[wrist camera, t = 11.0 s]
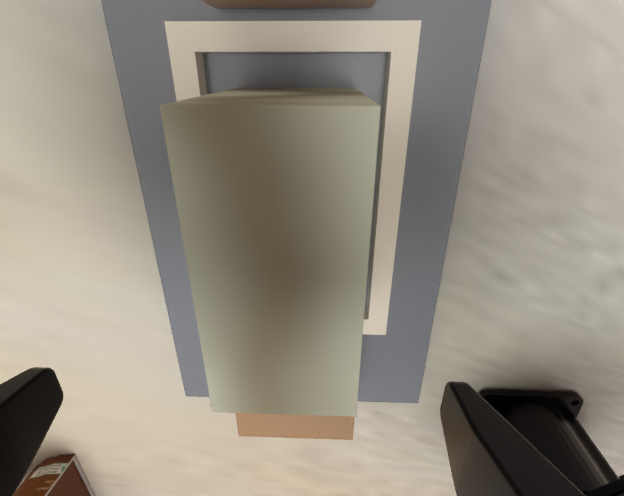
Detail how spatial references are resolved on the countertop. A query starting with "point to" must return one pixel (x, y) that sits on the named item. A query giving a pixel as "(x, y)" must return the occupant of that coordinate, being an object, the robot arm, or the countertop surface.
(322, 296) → the sage block
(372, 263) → the board
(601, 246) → the countertop surface
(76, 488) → the food container
